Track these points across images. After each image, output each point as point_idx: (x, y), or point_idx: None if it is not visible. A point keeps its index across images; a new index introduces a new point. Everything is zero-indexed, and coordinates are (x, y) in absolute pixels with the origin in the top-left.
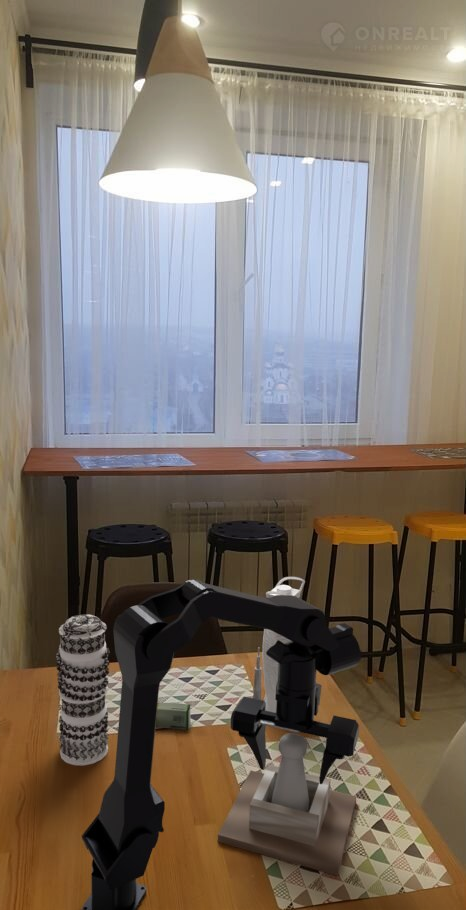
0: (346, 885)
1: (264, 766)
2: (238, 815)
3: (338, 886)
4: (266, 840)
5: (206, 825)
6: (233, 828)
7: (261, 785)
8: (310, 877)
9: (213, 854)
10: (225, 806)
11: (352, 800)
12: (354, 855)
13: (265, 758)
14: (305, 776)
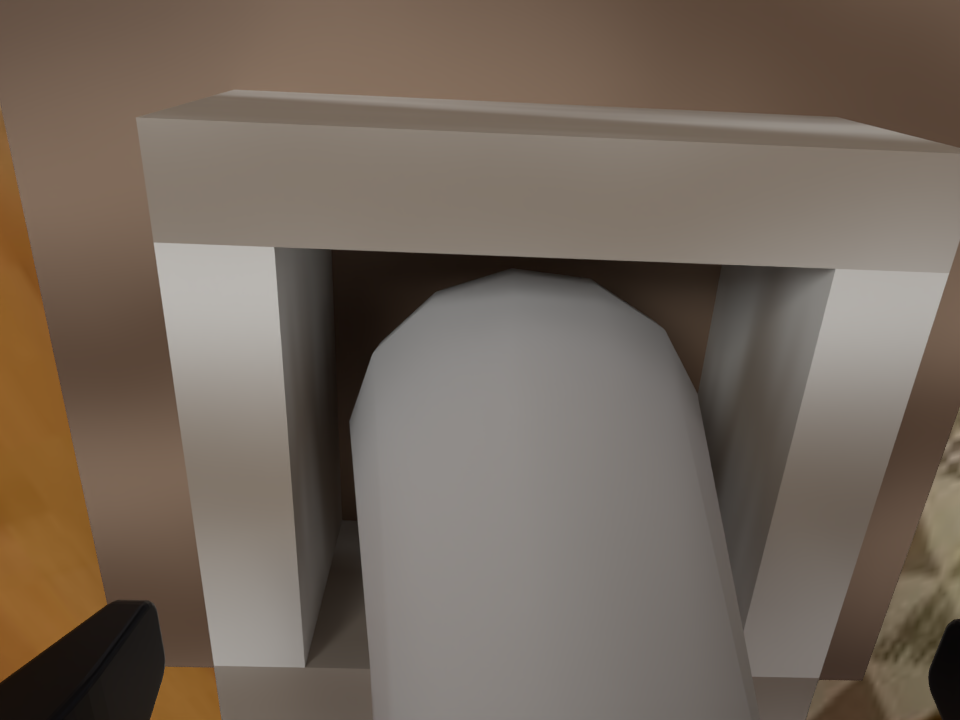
0: (879, 676)
1: (149, 654)
2: (158, 495)
3: (837, 690)
4: None
5: (6, 541)
6: (184, 603)
7: (217, 500)
8: None
9: (165, 697)
10: (16, 350)
11: None
12: (953, 494)
13: (94, 713)
14: (732, 575)
